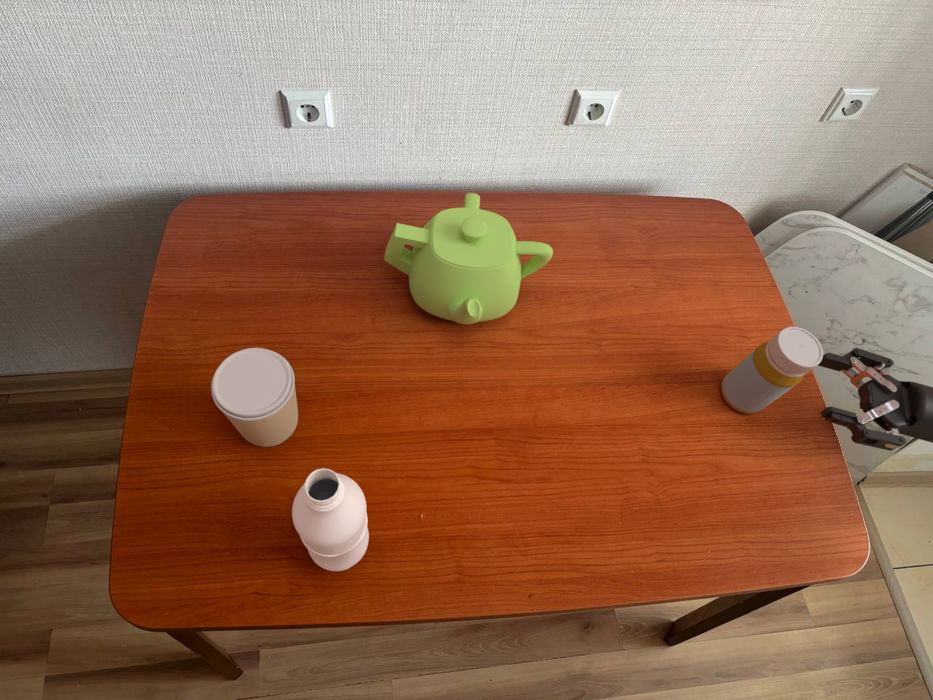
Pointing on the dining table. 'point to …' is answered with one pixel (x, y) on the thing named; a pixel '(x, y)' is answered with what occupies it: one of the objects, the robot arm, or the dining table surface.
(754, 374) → the bottle
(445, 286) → the teapot
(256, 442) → the coffee cup
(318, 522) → the water bottle
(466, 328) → the dining table surface
